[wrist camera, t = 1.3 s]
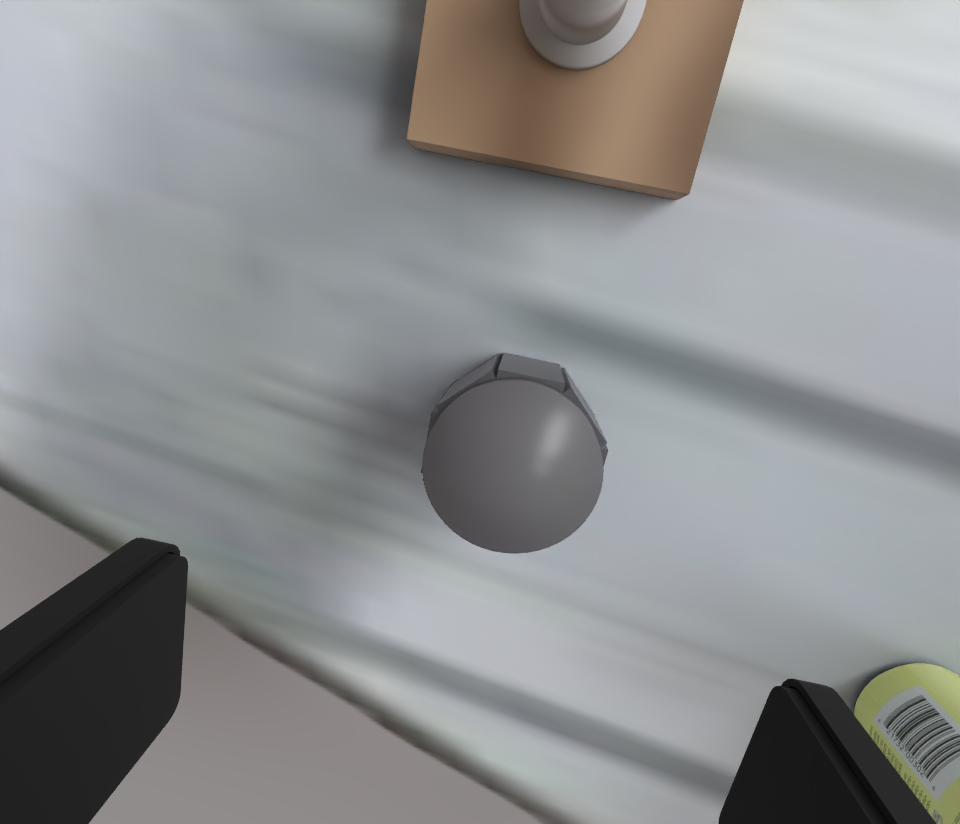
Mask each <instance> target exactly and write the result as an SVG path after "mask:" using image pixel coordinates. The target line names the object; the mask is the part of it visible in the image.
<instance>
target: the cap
mask: <svg viewBox="0 0 960 824" xmlns="http://www.w3.org/2000/svg"><path fill="white" fill-rule="evenodd" d="M606 444H607V442H606V440H605V438H604V436H603V433H602V431H601V429H600V427H599V425H598V423H597V420H596V418H595V416H594V414H593V412H592V411H591V409H590V408H589V406H588V404H587V403H586V401H585V400H584V398H583V397H582V395H581V394H580V392H579V390H578V389H577V387H576V386H575V384H574V383H573V381H572V379H571V378H570V376H569V375H568V373H567V372H566V370H565V368H563V369H560V366H559V364H555V363H550V362H546V361H541V360H536V359H531V358H526V357H522V356H517V355H512V354H507V353H504V354H503V357H502V359H501V358H500V356H499V355H498V354H497V355H495V356H494V357H492V358H491V359H489V360H488V361H486V362H485V363H483V364H482V365H480V366H478V367H477V368H475V369H474V370H472V371H471V372H469V373H468V374H466V375H465V376H463V377H462V378H460V379H459V380H457V381H455V382H454V383H452V384H451V386H450V387H449V389H448V390H447V391H446V393H445V394H444V396H443V397H442V398H441V400H440V401H439V402H438V404H437V405H436V407H435V408H434V410H433V411H432V414H431V420H430V425H429V431H428V436H427V441H426V445H425V449H424V454H423V463H422V470H421V473H423V481H424V485H425V488H426V491H427V495H428V497H429V499H430V502H431V504H432V506H433V508H434V509H435V511H436V512H437V514H438V515H439V517H440V518H441V519H442V520H443V521H444V523H445V524H446V525H447V526H448V527H449V528H450V529H451V530H452V531H454V532H455V533H456V534H458V535H459V536H460V537H462V538H463V539H465V540H467V541H469V542H470V543H472V544H474V545H477V546H479V547H481V548H484V549H488V550H491V551H496V552H502V553H528V552H533V551H538V550H541V549H544V548H547V547H550V546H552V545H554V544H557V543H559V542H560V541H562V540H564V539H565V538H567V537H568V536H570V535H571V534H572V533H573V532H575V531H576V530H577V529H578V528H579V527H580V526H581V525H582V524H583V523H584V522H585V520H586V519H587V518H588V516H589V515H590V513H591V512H592V510H593V508H594V506H595V504H596V502H597V500H598V497H599V494H600V491H601V486H602V481H603V467H604V463H605V459H606V456H607V452H608V449H607V446H606Z"/></svg>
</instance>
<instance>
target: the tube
mask: <svg viewBox="0 0 960 824" xmlns="http://www.w3.org/2000/svg"><path fill="white" fill-rule="evenodd" d="M854 716H855V717H856V718H857V719H858V721H859V722H860V723H861V725H862V726H863V727H864V729H865V730H866V731H867V733H868V734H869V735H870V737H871V738H872V739H873V740H874V742H875V743H876V744H877V746H878V747H879V748H880V750H881V751H882V752H883V754H884V755H885V756H886V758H887V759H888V760H889V761H890V763H891V764H892V765H893V767H894V768H895V769H896V771H897V772H898V773H899V775H900V776H901V777H902V779H903V780H904V781H905V782H906V784H907V785H908V786H909V788H910V789H911V790H912V792H913V793H914V794H915V796H916V797H917V798H918V800H919V801H920V802H921V803H922V805H923V806H924V807H925V809H926V810H927V811H928V813H929V814H930V815H931V817H932V818H933V819H934V821H935V822H936V823H937V824H960V677H959V676H958V675H956V674H955V673H953V672H952V671H950V670H948V669H946V668H943V667H940V666H937V665H933V664H925V663H913V664H907V665H902V666H897V667H895V668H892V669H890V670H887V671H885V672H883V673H881V674H880V675H878V676H877V677H875V678H874V679H873V680H871V681H870V682H869V683H868V684H867V685H866V686H865V688H864V689H863V691H862V692H861V693H860V695H859V697H858V699H857V702H856V705H855V709H854Z"/></svg>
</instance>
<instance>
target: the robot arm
mask: <svg viewBox="0 0 960 824" xmlns="http://www.w3.org/2000/svg"><path fill="white" fill-rule="evenodd" d="M187 573H188V562H187V559H186V558H185V557H183V556H180V551H179V549H178V547H177V546H175V545H173V544H168V543H164V542H159V541H155V540H150V539H145V538H136V539H134V540H132V541H130V542H129V543H127V544H126V545H124V546H123V547H121V548H120V549H118V550H117V551H115V552H114V553H112V554H111V555H110V556H108V557H107V558H105V559H104V560H102V561H101V562H99V563H98V564H96V565H95V566H94V567H92V568H91V569H89V570H88V571H86V572H85V573H83V574H82V575H80V576H79V577H77V578H76V579H74V580H73V581H72V582H70V583H69V584H67V585H66V586H64V587H63V588H61V589H60V590H58V591H57V592H56V593H54V594H53V595H51V596H50V597H48V598H47V599H45V600H44V601H42V602H41V603H39V604H38V605H37V606H35V607H34V608H32V609H31V610H30V611H28V612H26V613H25V614H23V615H22V616H21V617H19V618H18V619H16V620H15V621H13V622H12V623H10V624H9V625H7V626H6V627H5V628H3V629H2V630H0V824H88V823H89V822H90V821H91V820H92V818H93V817H94V816H95V815H96V813H97V812H98V811H99V809H100V808H101V807H102V806H103V804H104V803H105V801H106V800H107V799H108V798H109V797H110V795H111V794H112V793H113V792H114V790H115V789H116V788H117V787H118V785H119V784H120V783H121V781H122V780H123V779H124V778H125V776H126V775H127V774H128V773H129V771H130V770H131V769H132V767H133V766H134V765H135V764H136V762H137V761H138V760H139V758H140V757H141V756H142V755H143V753H144V752H145V751H146V750H147V748H148V747H149V746H150V745H151V743H152V742H153V741H154V739H155V738H156V737H157V736H158V734H159V733H160V732H161V730H162V729H163V728H164V727H165V725H166V724H167V723H168V722H169V720H170V719H171V717H172V715H173V714H174V712H175V710H176V707H177V704H178V702H179V698H180V692H181V675H182V658H183V640H184V624H185V607H186V590H187ZM719 824H937V823H936V822H935V821H934V819H933V818H932V817H931V815H930V814H929V813H928V811H927V810H926V809H925V807H924V806H923V805H922V803H921V802H920V801H919V800H918V798H917V797H916V796H915V794H914V793H913V792H912V790H911V789H910V788H909V786H908V785H907V784H906V782H905V781H904V780H903V779H902V777H901V776H900V775H899V773H898V772H897V771H896V769H895V768H894V767H893V765H892V764H891V763H890V761H889V760H888V759H887V758H886V756H885V755H884V754H883V752H882V751H881V750H880V748H879V747H878V746H877V744H876V743H875V742H874V740H873V739H872V738H871V737H870V735H869V734H868V733H867V731H866V730H865V729H864V727H863V726H862V725H861V723H860V722H859V721H858V719H857V718H856V717H855V716H854V714H853V713H852V712H851V710H850V709H849V708H848V706H847V705H846V704H845V702H844V701H843V700H842V698H841V697H840V696H839V695H838V693H837V692H836V691H835V690H834V689H832V688H830V687H828V686H824V685H820V684H815V683H810V682H806V681H801V680H797V679H787V680H786V681H785V682H783V684H782V686H775V687H774V688H773V689H772V690H771V692H770V694H769V697H768V699H767V701H766V704H765V706H764V709H763V711H762V714H761V716H760V718H759V721H758V723H757V726H756V728H755V731H754V733H753V735H752V738H751V740H750V743H749V745H748V748H747V750H746V752H745V755H744V757H743V760H742V762H741V765H740V767H739V769H738V772H737V774H736V777H735V779H734V781H733V784H732V786H731V789H730V791H729V794H728V796H727V798H726V801H725V803H724V806H723V808H722V811H721V813H720V817H719Z"/></svg>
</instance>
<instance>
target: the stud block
mask: <svg viewBox="0 0 960 824" xmlns="http://www.w3.org/2000/svg"><path fill="white" fill-rule="evenodd" d="M743 1H744V0H427V3H426V9H425V16H424V23H423V30H422V37H421V44H420V51H419V58H418V64H417V71H416V78H415V85H414V92H413V99H412V106H411V113H410V120H409V126H408V133H407V140H408V141H409V142H410V143H411V144H412V145H413V146H414V147H415V148H416V149H420V150H425V151H431V152H436V153H441V154H446V155H451V156H456V157H461V158H466V159H471V160H476V161H481V162H487V163H492V164H497V165H502V166H507V167H512V168H517V169H522V170H527V171H532V172H538V173H543V174H548V175H553V176H558V177H563V178H568V179H573V180H578V181H583V182H589V183H594V184H599V185H604V186H609V187H614V188H619V189H624V190H629V191H634V192H640V193H645V194H650V195H655V196H660V197H665V198H670V199H675V200H678V199H680V198H682V197H684V196H686V195H688V194H689V193H690V190H691V186H692V183H693V179H694V175H695V172H696V168H697V165H698V161H699V158H700V154H701V150H702V147H703V143H704V140H705V136H706V133H707V129H708V125H709V122H710V118H711V115H712V111H713V108H714V104H715V101H716V97H717V93H718V90H719V86H720V83H721V79H722V76H723V72H724V68H725V65H726V61H727V58H728V54H729V51H730V47H731V43H732V40H733V36H734V33H735V29H736V26H737V22H738V19H739V15H740V11H741V8H742V4H743Z"/></svg>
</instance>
